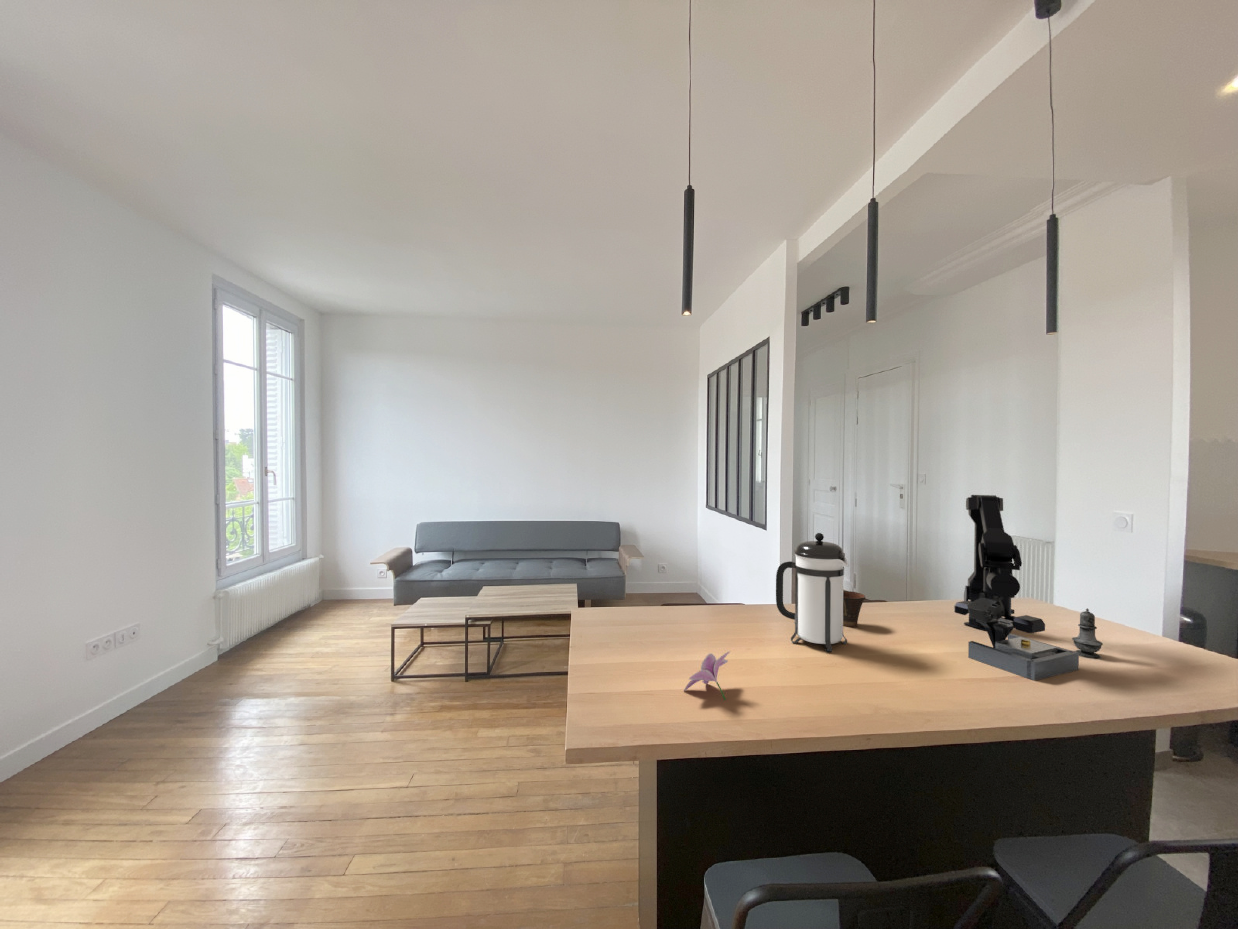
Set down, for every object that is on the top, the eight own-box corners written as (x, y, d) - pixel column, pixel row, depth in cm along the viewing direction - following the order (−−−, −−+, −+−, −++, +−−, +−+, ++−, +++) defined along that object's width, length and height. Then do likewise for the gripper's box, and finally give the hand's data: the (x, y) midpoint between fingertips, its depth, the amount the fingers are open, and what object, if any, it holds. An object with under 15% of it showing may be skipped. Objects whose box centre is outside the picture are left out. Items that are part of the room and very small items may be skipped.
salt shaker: (1075, 656, 130) (1076, 609, 130) (1068, 649, 135) (1068, 604, 135) (1106, 661, 127) (1107, 612, 127) (1098, 653, 132) (1098, 607, 132)
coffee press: (836, 633, 146) (837, 529, 146) (857, 654, 130) (858, 537, 130) (775, 631, 148) (775, 528, 148) (787, 651, 132) (788, 536, 132)
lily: (736, 688, 113) (717, 645, 116) (756, 688, 102) (734, 642, 105) (689, 711, 110) (670, 667, 113) (704, 714, 99) (683, 665, 102)
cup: (875, 627, 150) (869, 593, 150) (844, 631, 150) (839, 597, 150) (861, 619, 158) (856, 587, 159) (832, 623, 159) (828, 591, 159)
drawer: (1020, 656, 130) (1020, 633, 130) (1060, 669, 122) (1060, 644, 122) (995, 662, 126) (995, 638, 126) (1034, 675, 118) (1035, 649, 118)
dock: (1011, 648, 135) (1011, 633, 135) (1078, 669, 121) (1078, 652, 121) (968, 657, 129) (968, 641, 129) (1034, 680, 115) (1034, 663, 115)
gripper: (940, 583, 136) (940, 641, 136) (1017, 600, 119) (1017, 667, 119) (968, 579, 140) (967, 636, 140) (1046, 596, 123) (1046, 660, 123)
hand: (996, 649), depth 130 cm, fingers closed
